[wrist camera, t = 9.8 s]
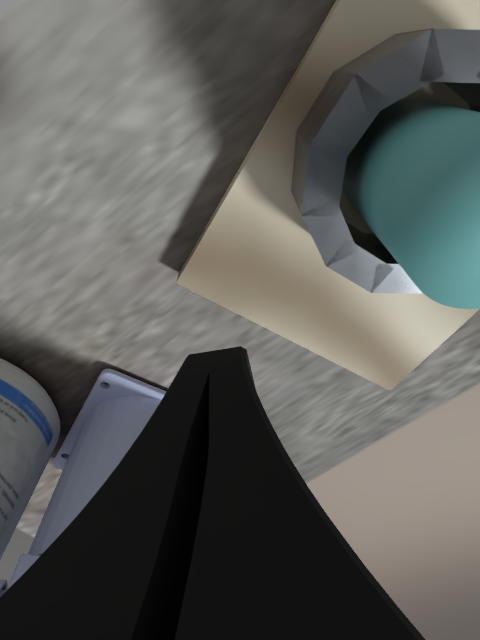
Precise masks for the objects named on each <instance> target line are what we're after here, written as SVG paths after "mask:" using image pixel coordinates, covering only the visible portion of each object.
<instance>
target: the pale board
mask: <svg viewBox="0 0 480 640" xmlns="http://www.w3.org/2000/svg"><path fill="white" fill-rule="evenodd" d="M430 28H434V29H466V30H480V0H336V1H335V3H334V5H333V6H332V8H331V10H330V12H329V13H328V15H327V17H326V19H325V20H324V22H323V24H322V25H321V27H320V29H319V31H318V32H317V34H316V36H315V38H314V39H313V41H312V43H311V45H310V46H309V48H308V50H307V51H306V53H305V55H304V57H303V58H302V60H301V62H300V64H299V65H298V67H297V69H296V71H295V72H294V74H293V76H292V78H291V79H290V81H289V83H288V84H287V86H286V88H285V90H284V91H283V93H282V95H281V97H280V98H279V100H278V102H277V104H276V105H275V107H274V109H273V110H272V112H271V114H270V116H269V117H268V119H267V121H266V123H265V124H264V126H263V128H262V130H261V131H260V133H259V135H258V136H257V138H256V140H255V142H254V143H253V145H252V147H251V149H250V150H249V152H248V154H247V156H246V157H245V159H244V161H243V162H242V164H241V166H240V168H239V169H238V171H237V173H236V175H235V176H234V178H233V180H232V182H231V183H230V185H229V187H228V188H227V190H226V192H225V194H224V195H223V197H222V199H221V201H220V202H219V204H218V206H217V208H216V209H215V211H214V213H213V215H212V216H211V218H210V220H209V221H208V223H207V225H206V227H205V228H204V230H203V232H202V234H201V235H200V237H199V239H198V241H197V242H196V244H195V246H194V247H193V249H192V251H191V253H190V254H189V256H188V258H187V260H186V261H185V263H184V265H183V267H182V268H181V270H180V272H179V274H178V278H177V282H176V283H177V284H179V285H181V286H183V287H185V288H187V289H189V290H191V291H193V292H195V293H197V294H199V295H201V296H203V297H205V298H207V299H209V300H211V301H213V302H215V303H217V304H219V305H221V306H223V307H225V308H227V309H229V310H231V311H233V312H235V313H237V314H239V315H241V316H243V317H245V318H247V319H249V320H251V321H253V322H255V323H257V324H259V325H261V326H263V327H265V328H267V329H269V330H271V331H273V332H275V333H277V334H279V335H280V336H282V337H284V338H286V339H288V340H290V341H292V342H294V343H296V344H298V345H300V346H302V347H304V348H306V349H308V350H310V351H312V352H314V353H316V354H318V355H320V356H322V357H324V358H326V359H328V360H330V361H332V362H334V363H336V364H338V365H340V366H342V367H344V368H346V369H348V370H350V371H352V372H354V373H356V374H358V375H360V376H362V377H364V378H366V379H368V380H370V381H372V382H374V383H376V384H378V385H380V386H382V387H384V388H386V389H388V390H391V389H393V388H394V387H395V386H396V385H397V384H398V383H399V382H400V381H401V380H402V379H403V378H405V377H406V376H407V375H408V374H409V373H410V372H411V371H412V370H413V369H414V368H416V367H417V366H418V365H419V364H420V363H421V362H422V361H423V360H424V359H425V358H427V357H428V356H429V355H430V354H431V353H432V352H433V351H434V350H435V349H436V348H437V347H439V346H440V345H441V344H442V343H443V342H444V341H445V340H446V339H447V338H448V337H450V336H451V335H452V334H453V333H454V332H455V331H456V330H457V329H458V328H459V327H461V326H462V325H463V324H464V323H465V322H466V321H467V320H468V319H469V318H470V317H471V316H473V315H474V314H475V313H476V312H477V311H478V310H479V309H458V308H453V307H448V306H445V305H442V304H439V303H437V302H435V301H434V300H432V299H430V298H429V297H427V296H426V295H425V294H412V293H370V292H369V291H367V290H365V289H364V288H362V287H360V286H359V285H357V284H355V283H353V282H352V281H350V280H348V279H347V278H345V277H343V276H342V275H340V274H338V273H336V272H335V271H333V270H331V269H330V268H328V267H326V266H325V264H324V262H323V259H322V257H321V255H320V253H319V251H318V248H317V246H316V244H315V242H314V240H313V238H312V236H311V234H310V232H309V229H308V227H307V225H306V223H305V221H304V219H303V217H302V216H301V213H300V211H299V209H298V206H297V204H296V201H295V199H294V197H293V194H292V192H291V186H292V175H293V164H294V153H295V142H296V131H297V129H298V128H299V126H300V124H301V123H302V121H303V120H304V118H305V116H306V115H307V113H308V111H309V110H310V108H311V107H312V105H313V103H314V102H315V100H316V99H317V97H318V95H319V94H320V92H321V91H322V89H323V87H324V86H325V84H326V82H327V81H328V79H329V78H330V76H331V74H332V73H333V71H335V70H337V69H339V68H340V67H342V66H343V65H345V64H347V63H348V62H350V61H352V60H353V59H355V58H357V57H358V56H360V55H362V54H363V53H365V52H366V51H368V50H370V49H371V48H373V47H375V46H376V45H378V44H380V43H381V42H383V41H385V40H386V39H388V38H390V37H391V36H393V35H394V34H398V33H405V32H411V31H418V30H424V29H430ZM403 99H422V100H426V101H431V102H435V103H440V104H444V105H449V106H453V107H458V108H463V109H467V110H470V108H469V104H468V103H467V102H466V101H464V100H463V99H462V98H461V97H460V96H459V95H457V94H456V93H455V92H454V91H453V90H452V89H450V88H449V87H448V86H447V85H446V84H445V83H443V82H431V83H429V84H427V85H425V86H424V87H422V88H420V89H418V90H416V91H415V92H413V93H411V94H409V95H408V96H406V97H404V98H402V99H400V100H403ZM339 207H340V210H341V212H342V214H343V217H344V219H345V221H346V222H348V223H349V224H351V225H352V226H354V227H355V228H357V229H359V230H360V231H362V232H363V233H374V232H373V231H372V230H371V228H370V227H369V226H368V225H367V223H366V222H365V221H364V220H363V218H362V217H361V216H360V215H359V213H358V212H357V211H356V210H355V208H354V207H353V206H352V204H351V203H350V202H349V200H348V199H347V197H346V195H345V193H344V190H343V187H342V191H341V198H340V204H339Z"/></svg>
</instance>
